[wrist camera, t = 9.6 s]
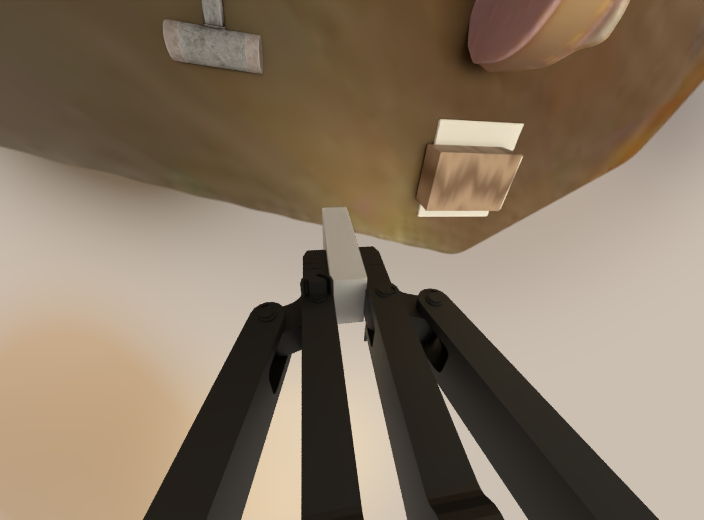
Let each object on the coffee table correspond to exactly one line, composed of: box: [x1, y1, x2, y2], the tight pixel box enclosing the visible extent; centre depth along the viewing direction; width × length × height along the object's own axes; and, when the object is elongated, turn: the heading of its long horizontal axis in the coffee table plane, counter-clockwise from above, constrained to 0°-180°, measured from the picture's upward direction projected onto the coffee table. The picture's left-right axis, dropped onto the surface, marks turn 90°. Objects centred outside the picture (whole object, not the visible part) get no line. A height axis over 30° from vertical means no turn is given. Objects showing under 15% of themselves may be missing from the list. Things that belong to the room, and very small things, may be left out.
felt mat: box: [417, 119, 524, 217], centre depth 45 cm, size 16×14×1 cm
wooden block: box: [416, 144, 523, 211], centre depth 42 cm, size 9×5×13 cm
